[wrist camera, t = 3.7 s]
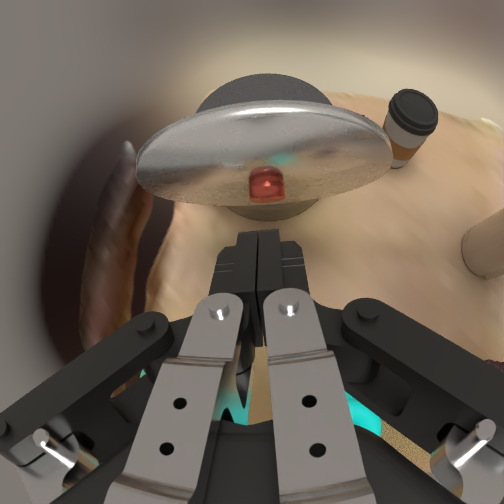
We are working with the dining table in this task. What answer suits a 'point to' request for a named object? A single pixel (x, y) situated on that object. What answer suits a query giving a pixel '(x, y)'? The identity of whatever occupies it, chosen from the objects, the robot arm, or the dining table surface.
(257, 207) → the cooking pot
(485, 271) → the robot arm
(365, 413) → the donuts
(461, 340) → the dining table surface
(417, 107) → the coffee cup
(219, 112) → the lid
